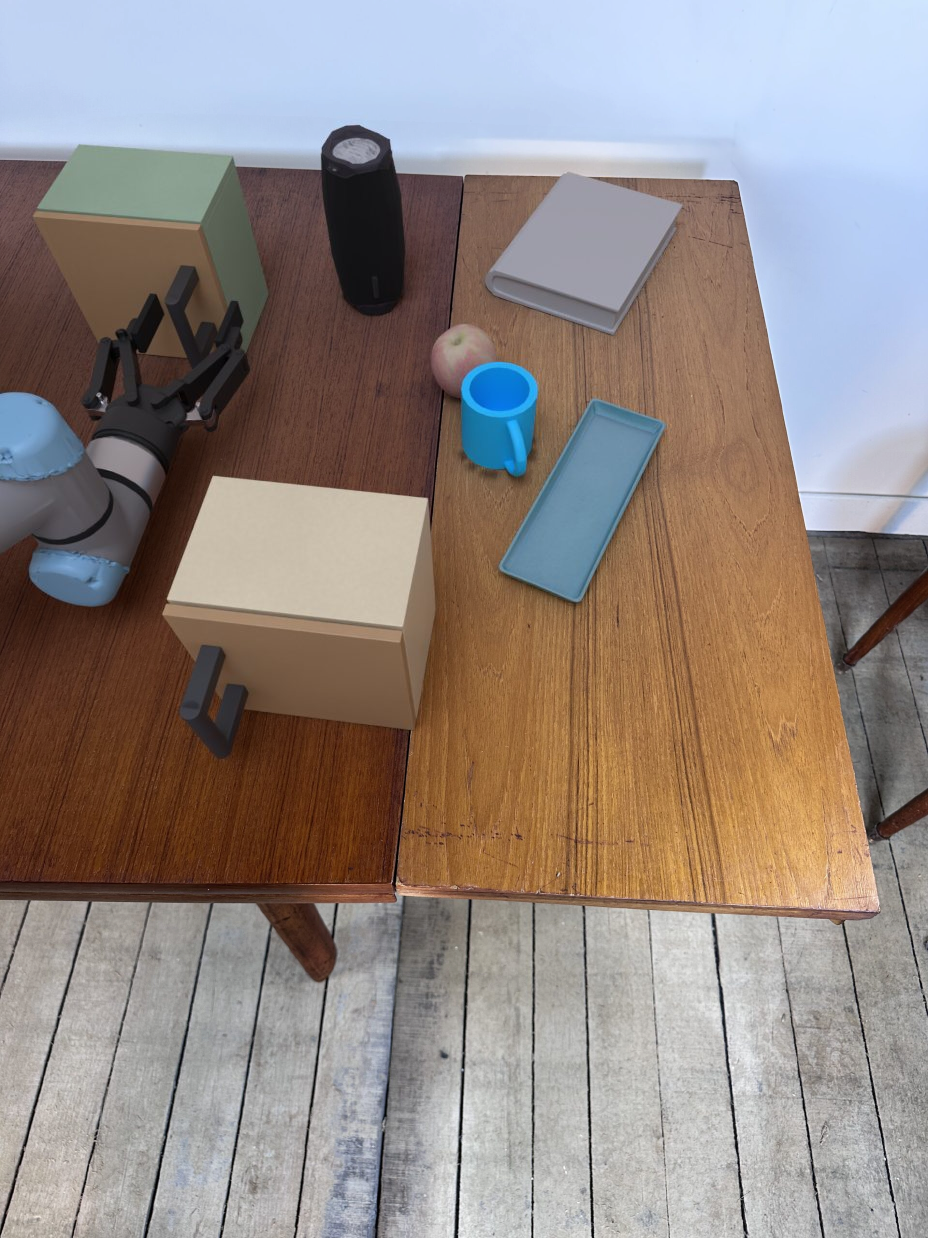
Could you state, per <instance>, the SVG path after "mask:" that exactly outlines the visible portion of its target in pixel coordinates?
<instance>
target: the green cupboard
mask: <svg viewBox="0 0 928 1238" xmlns="http://www.w3.org/2000/svg"><path fill="white" fill-rule="evenodd" d="M36 211H43V212H55V213H68V214H80V215H92V216H104V217H117V218H129V219H141V220H153V221H165V222H178V223H190V224H201V227H202V230H203V233H204V236H205V240H206V243H207V246H208V249H209V252H210V255H211V258H212V261H213V264H214V268H215V271H216V274H217V277H218V280H219V283H220V286H221V289H222V292H223V296H224V299H225V302H226V305H227V308H228V307H229V304H230V302H231V301H238V304H239V307H240V310H241V314H242V317H243V320H244V322H243V325H242V327H241V330H240V331H241V334H242V338H243V342H242V344H241V347H240V348H241V349H242V350H244V351H245V354H246V355H247V352H248V349H249V347H250V344H251V342H252V338H253V336H254V333H255V331H256V329H257V326H258V324H259V320H260V318H261V316H262V314H263V313H262V312H263V310H264V307H265V305H266V302H267V300H268V297H269V295H270V293H269V289H268V286H267V282H266V278H265V274H264V270H263V266H262V262H261V259H260V254H259V251H258V247H257V243H256V239H255V235H254V231H253V228H252V224H251V221H250V220H251V219H250V216H249V213H248V209H247V205H246V201H245V197H244V194H243V190H242V186H241V181H240V179H239V175H238V171H237V166H236V163H235V159H234V156H233V155H225V154H214V153H200V152H188V151H186V152H185V151H176V150H175V151H174V150H173V151H172V150H162V149H161V150H160V149H146V148H135V147H134V148H133V147H120V146H106V145H93V144H81V143H79V144H78V145H77V146H76V148H75V150H74V151H73V152H72V154H71V156H70V157H69V158H68V160H67V161H66V163H65V164H64V166H63V168H62V169H61V170H60V172H59V173H58V175H57V176H56V178H55V179H54V181H53V182H52V184H51V186H50V187H49V189H48V190H47V191H46V193H45V195H44V196H43V198H42V199H41V200H40V202H39V204H38V205H37V206H36Z"/></svg>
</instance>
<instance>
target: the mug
mask: <svg viewBox="0 0 928 1238" xmlns="http://www.w3.org/2000/svg"><path fill="white" fill-rule="evenodd" d="M538 393H539V388H538V384H537V381H536V379H535V377H534V376H533V375H532V374H531V372H529V371H528V370H527V369H526V368H524V367H522V366H520V365H517V364H514V363H511V362H504V361H498V362H492V363H486V364H483V365H481V366H478V367H476V368H475V369H473V370H472V371H470V372H469V373H468V374H467V376H466V377H465V379H464V380H463V383H462V388H461V398H460V400H461V401H460V404H461V406H460V407H461V409H460V410H461V411H460V413H461V415H460V416H461V446H462V450H463V452H464V454H465V455H466V457H467V458H468V459H469V460H470V461H471V462H473V463H474V464H475V465H478V466H479V467H483V468H485V469H489V470H491V469H492V470H506V471H507V472H508V473H509V475H511V476H513V477H515V478H519V477H521V476H523V475H525V473H526V470H527V466H528V456H529V455H530V453H531V451H532V448H533V441H534V430H535V421H536V411H537V403H538V402H537V401H538Z"/></svg>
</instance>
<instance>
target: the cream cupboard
mask: <svg viewBox="0 0 928 1238" xmlns="http://www.w3.org/2000/svg"><path fill="white" fill-rule="evenodd" d="M429 505H430V503H429V498H428V497H421V496H411V495H410V496H409V495H401V494H391V493H383V492H372V491H364V490H354V489H344V488H334V487H325V486H317V485H316V486H315V485H306V484H305V485H304V484H296V483H286V482H278V481H277V482H275V481H269V480H257V479H249V478H239V477H230V476H229V477H228V476H218V475H213V476H212V478H211V480H210V483H209V485H208V488H207V490H206V494H205V496H204V498H203V501H202V504H201V506H200V509H199V512H198V515H197V517H196V520H195V523H194V525H193V528H192V531H191V533H190V536H189V539H188V541H187V544H186V546H185V549H184V552H183V555H182V558H181V560H180V562H179V565H178V568H177V571H176V574H175V576H174V578H173V581H172V584H171V587H170V589H169V592H168V593H167V597H166V600H167V602H168V604H174V605H182V606H191V607H200V608H208V609H217V610H225V611H234V612H243V613H251V614H260V615H269V616H277V617H286V618H294V619H303V620H312V621H320V622H329V623H337V624H346V625H355V626H363V627H372V628H381V629H389V630H398V631H402V632H403V638H404V645H405V651H406V658H407V665H408V671H409V678H410V684H411V691H412V697H413V704H414V711H415V717H416V720H417V718H418V714H419V708H420V703H421V697H422V691H423V685H424V681H425V675H426V668H427V663H428V657H429V651H430V645H431V640H432V634H433V629H434V628H433V627H434V622H435V617H436V611H437V608H436V607H437V606H436V594H435V593H436V592H435V576H434V563H433V548H432V533H431V519H430V507H429Z"/></svg>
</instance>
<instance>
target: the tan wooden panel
mask: <svg viewBox="0 0 928 1238" xmlns="http://www.w3.org/2000/svg"><path fill="white" fill-rule="evenodd" d="M32 219H33V221H34V222H35V225H36V226H37V228H38V230H39V232H40V234H41V237H42V238H43V240H44V242H45V244H46V246H47V248H48V250H49V251H50V254H51V255H52V257H53V259H54V261H55V263H56V265H57V267H58V269H59V271H60V273H61V274H62V276H63V278H64V280H65V282H66V284H67V286H68V288H69V290H70V292H71V294H72V295H73V297H74V300H75V301H76V303H77V306H78V308H79V309H80V312H81V313H82V315H83V317H84V319H85V321H86V322H87V325H88V326H89V328H90V331H91V332H92V334H93V337H94V338H95V340H96V341H97V344H98V345H99V342H100V340H101V339H102V338H104V337H109V338H111V340H116V339H117V337H116V335H115V332H116V330H118V329H125V330H126V329H127V327H128V325H129V323H130V321H131V320H132V319H133V318H138V316H139V314H140V312H141V310H142V308H143V306H144V304H145V302H146V300H147V298H148V296H149V294H150V293H151V294H157V297H158V299H159V301H160V304H161V306H162V309H163V311H164V317H163V319H162V321H161V323H160V325H159V327H158V329H157V331H156V333H155V335H154V337H153V340H152V342H151V344H150V346H149V348H148V350H147V352H146V353H139V351H138V349H137V351H136V352H137V355H149V356H159V357H170V358H182V359H187V361H188V364H189V366H190V368H191V370H192V369H193V368H194V367H196V366H197V365H198V364H199V363H200V362H201V361H203V360H204V359H205V358H206V357H207V356H208V355H210V354H211V353H212V352H213V351H214V350H215V349H217V347H216V344H215V342H214V340H215V338H216V335H217V333H218V331H219V328H220V326H221V323H222V321H223V319H224V316H225V314H226V312H227V309H228V308H227V305H226V302H225V299H224V296H223V292H222V289H221V286H220V283H219V280H218V277H217V274H216V271H215V268H214V264H213V261H212V258H211V255H210V252H209V249H208V246H207V243H206V240H205V236H204V233H203V230H202V227H201V224H190V223H178V222H165V221H153V220H141V219H129V218H117V217H104V216H92V215H80V214H68V213H55V212H43V211H38V210H36V211H35V212H34V213H33V214H32ZM240 349H241V348H240Z"/></svg>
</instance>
